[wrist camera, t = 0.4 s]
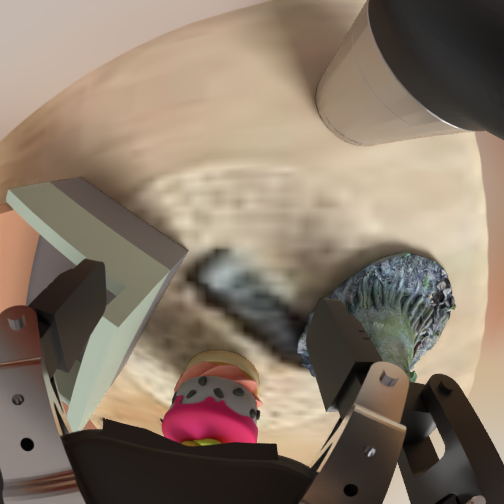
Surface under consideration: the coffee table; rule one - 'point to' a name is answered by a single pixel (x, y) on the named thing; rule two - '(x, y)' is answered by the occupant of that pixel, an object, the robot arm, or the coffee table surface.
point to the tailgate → (15, 257)
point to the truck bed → (117, 276)
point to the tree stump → (396, 307)
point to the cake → (215, 401)
